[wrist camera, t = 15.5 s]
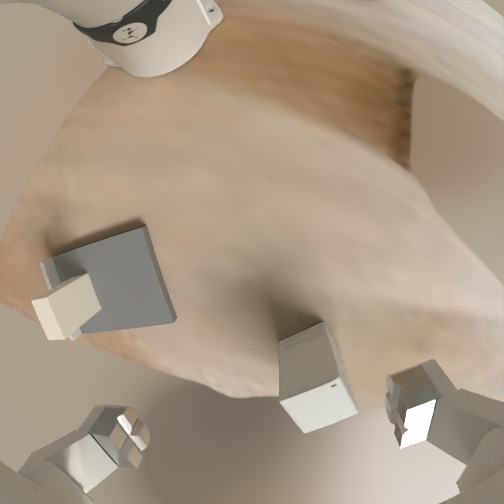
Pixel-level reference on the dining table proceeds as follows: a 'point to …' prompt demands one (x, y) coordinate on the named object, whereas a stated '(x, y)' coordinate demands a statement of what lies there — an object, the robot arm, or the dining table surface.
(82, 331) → the grey panel white edge
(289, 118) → the dining table surface
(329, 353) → the supplement box
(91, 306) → the carton
